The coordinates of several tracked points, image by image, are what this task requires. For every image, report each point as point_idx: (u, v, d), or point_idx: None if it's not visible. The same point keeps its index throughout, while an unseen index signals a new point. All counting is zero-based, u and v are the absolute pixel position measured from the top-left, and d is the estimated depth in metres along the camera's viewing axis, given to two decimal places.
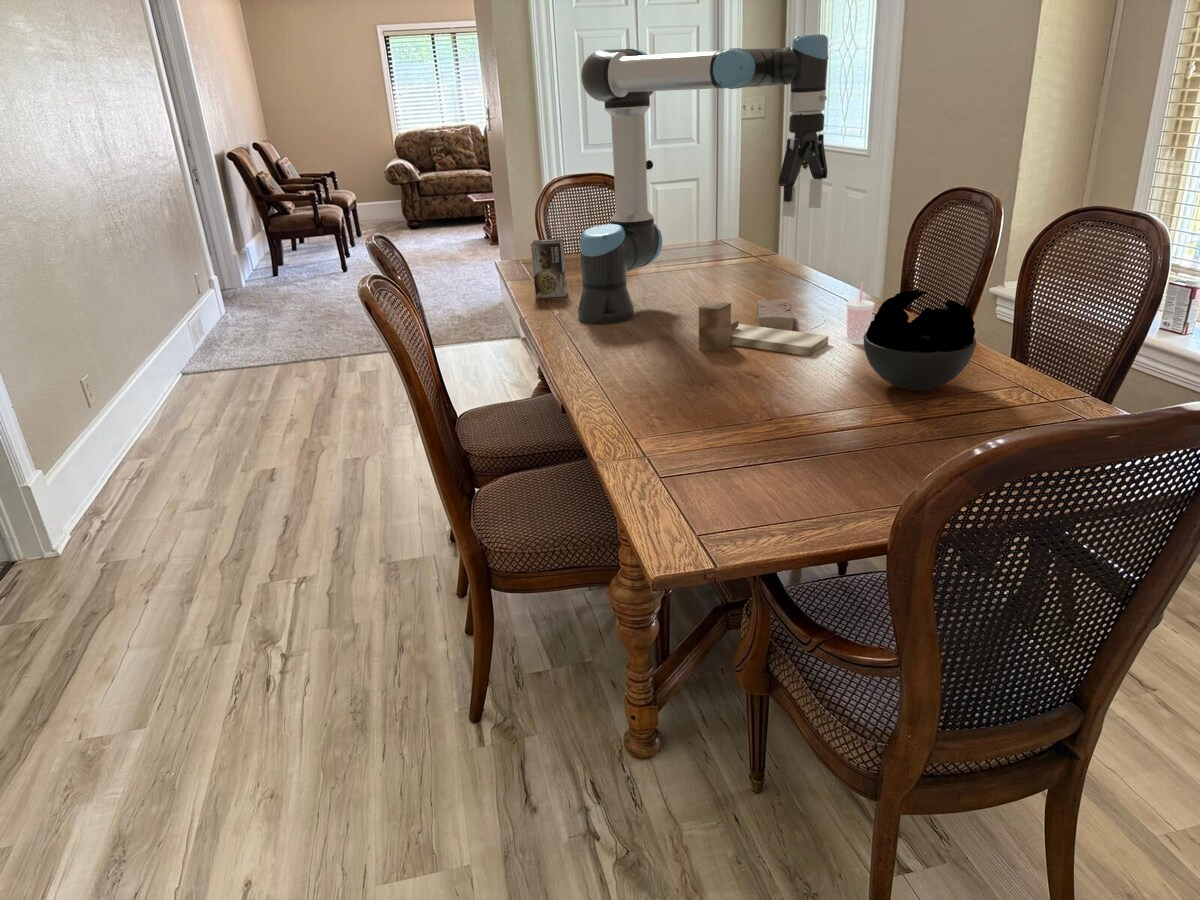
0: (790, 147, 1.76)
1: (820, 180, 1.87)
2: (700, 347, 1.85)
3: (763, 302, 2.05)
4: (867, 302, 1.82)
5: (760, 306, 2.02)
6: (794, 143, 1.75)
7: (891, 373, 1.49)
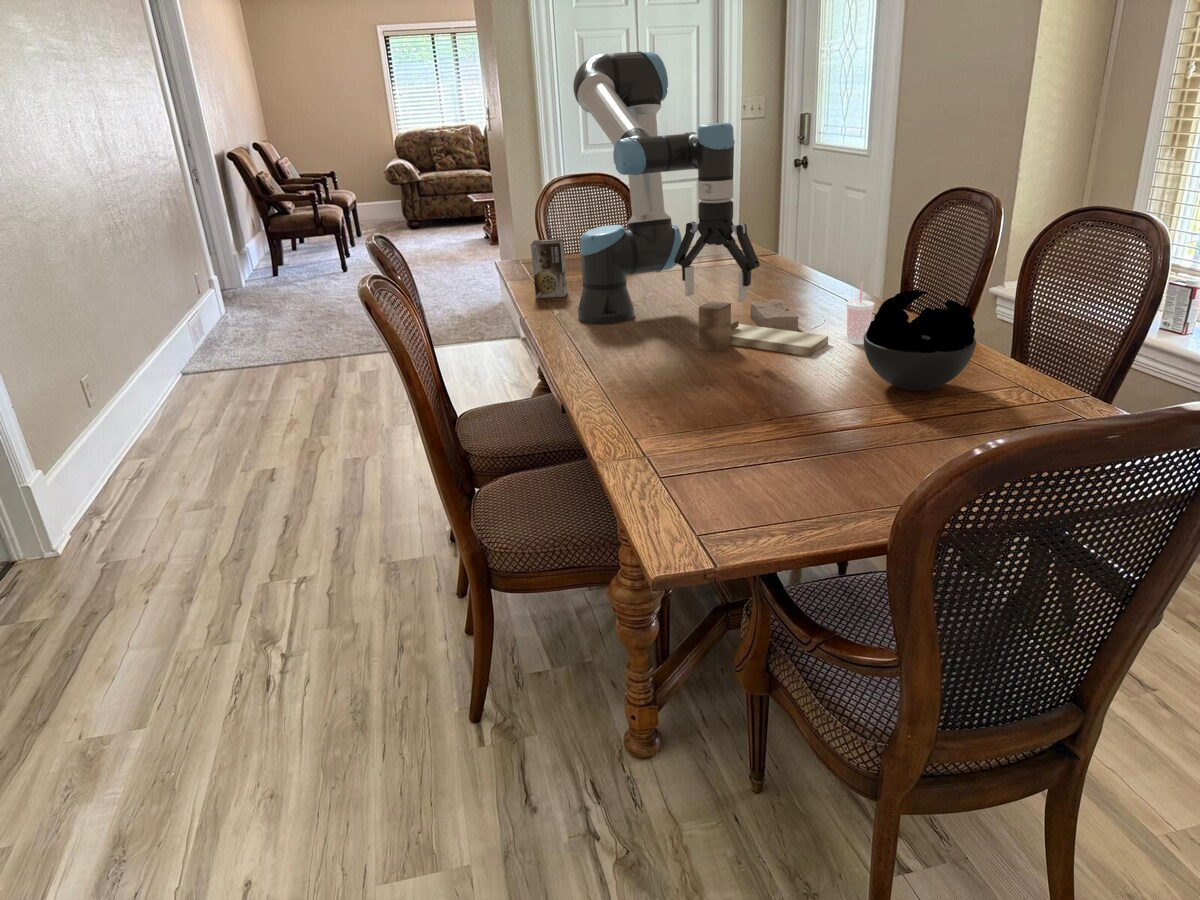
0: None
1: (739, 273, 1.74)
2: (700, 347, 1.85)
3: (758, 303, 2.05)
4: (867, 302, 1.82)
5: (757, 307, 2.02)
6: None
7: (891, 373, 1.49)
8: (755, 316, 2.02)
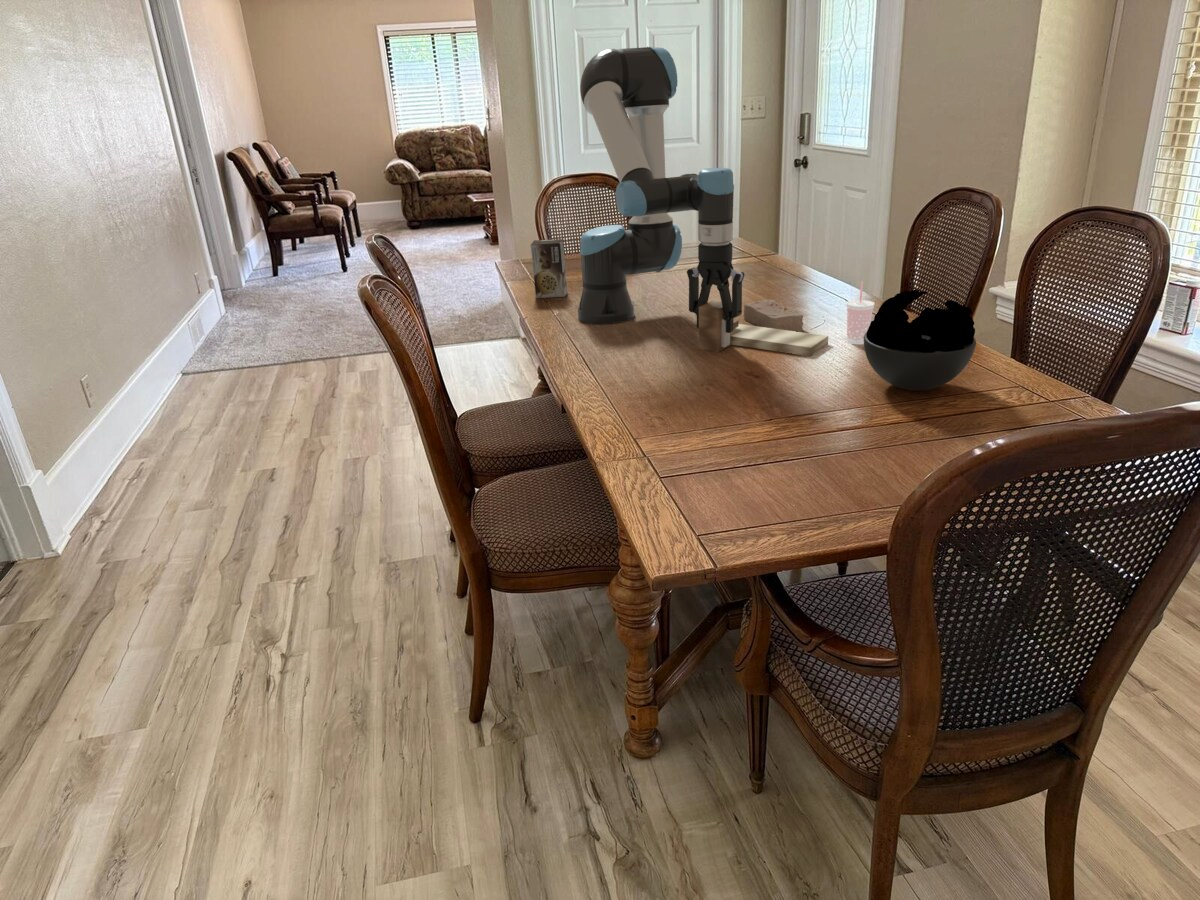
0: None
1: (722, 320, 1.81)
2: (700, 347, 1.85)
3: (752, 304, 2.04)
4: (867, 302, 1.82)
5: (756, 308, 2.01)
6: None
7: (891, 373, 1.49)
8: (754, 317, 2.01)
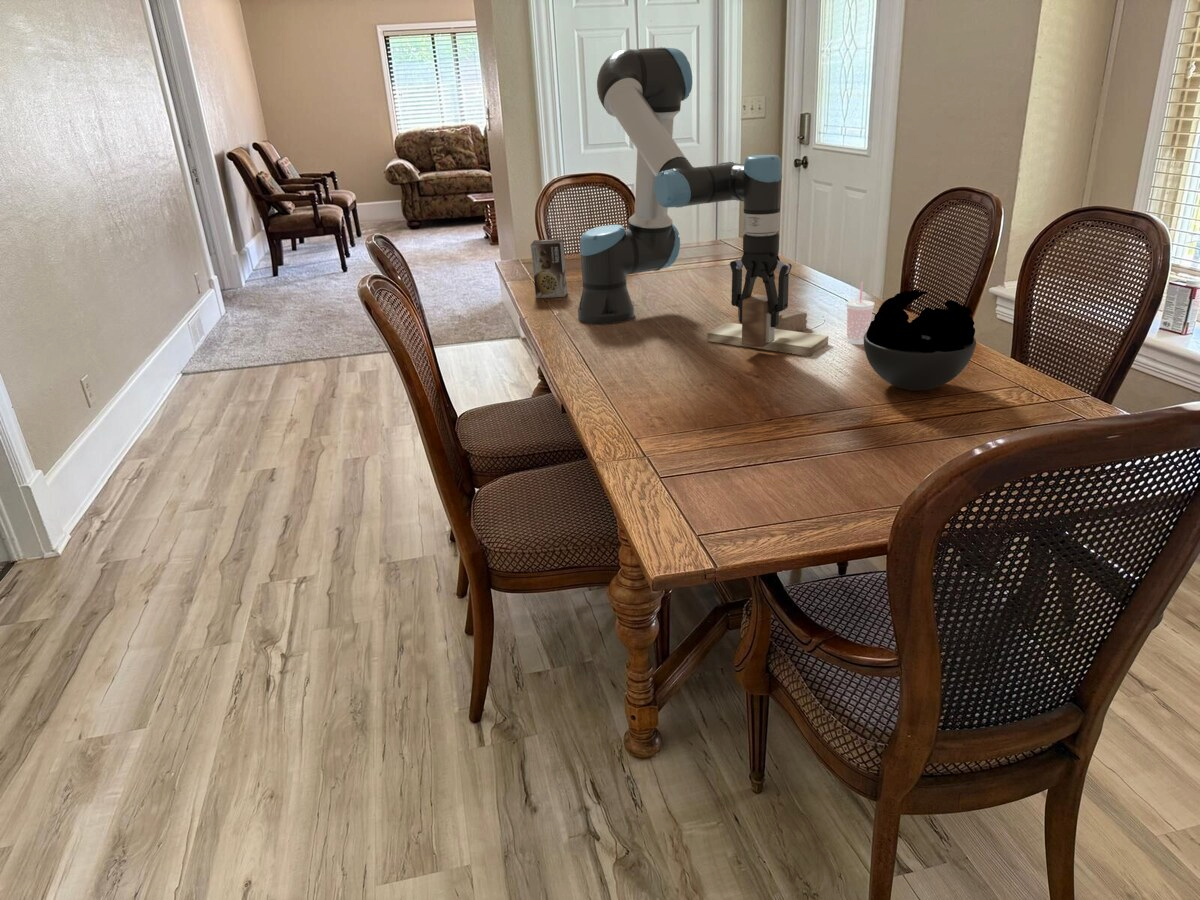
0: None
1: (767, 314, 1.74)
2: (743, 342, 1.78)
3: None
4: (867, 302, 1.82)
5: None
6: None
7: (891, 373, 1.49)
8: None
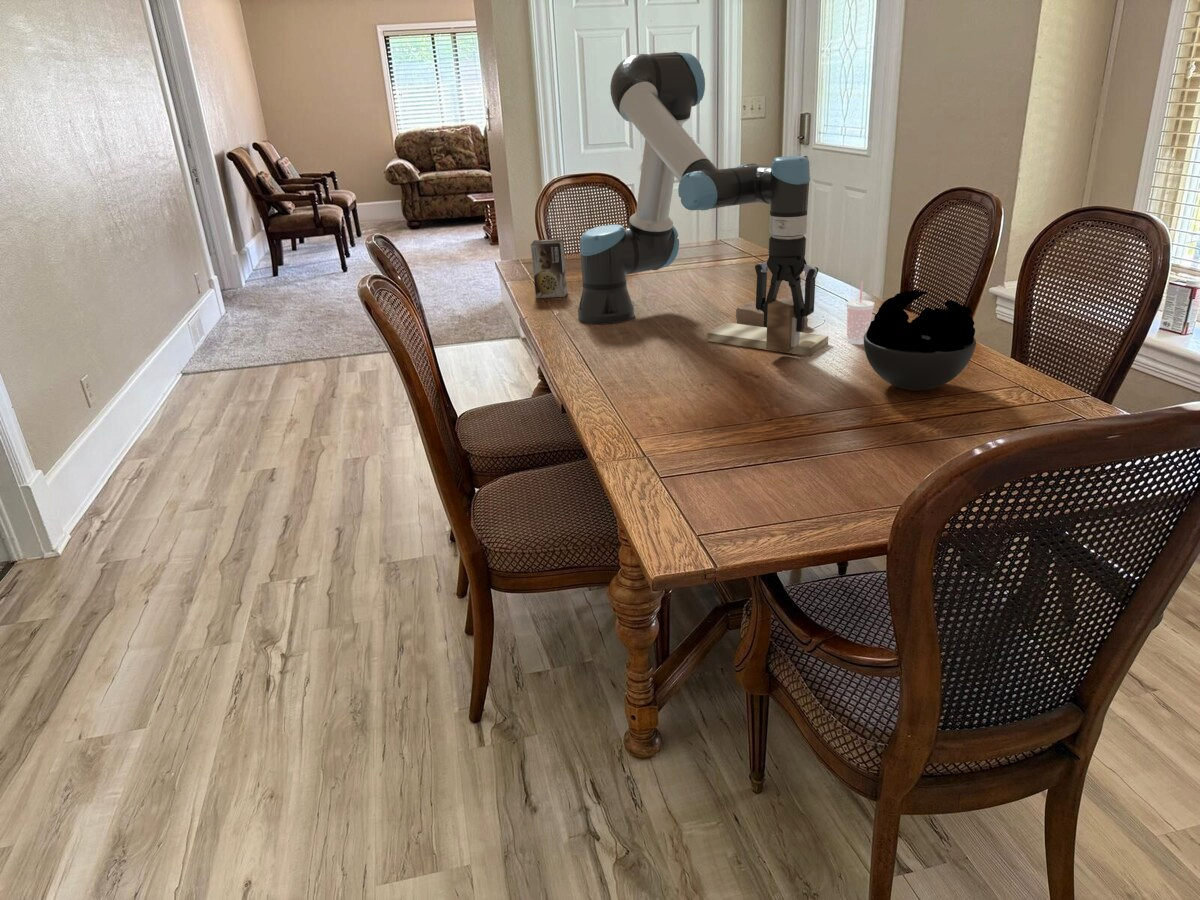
0: None
1: (792, 318, 1.71)
2: (768, 347, 1.75)
3: (746, 307, 2.01)
4: (867, 302, 1.82)
5: (755, 311, 1.99)
6: None
7: (891, 373, 1.49)
8: (755, 320, 1.99)
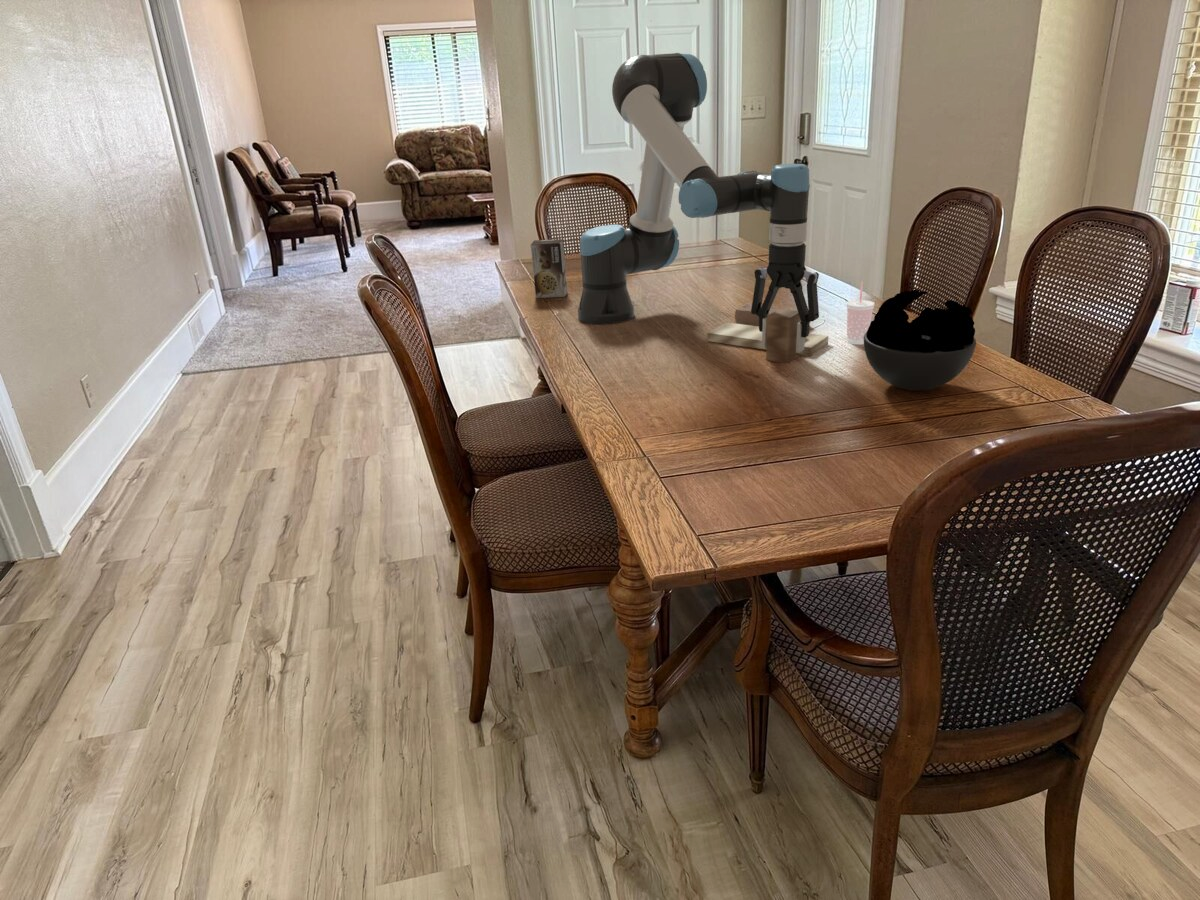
0: None
1: (797, 324, 1.71)
2: (768, 358, 1.76)
3: (745, 309, 2.00)
4: (867, 302, 1.82)
5: None
6: None
7: (891, 373, 1.49)
8: (757, 321, 1.98)
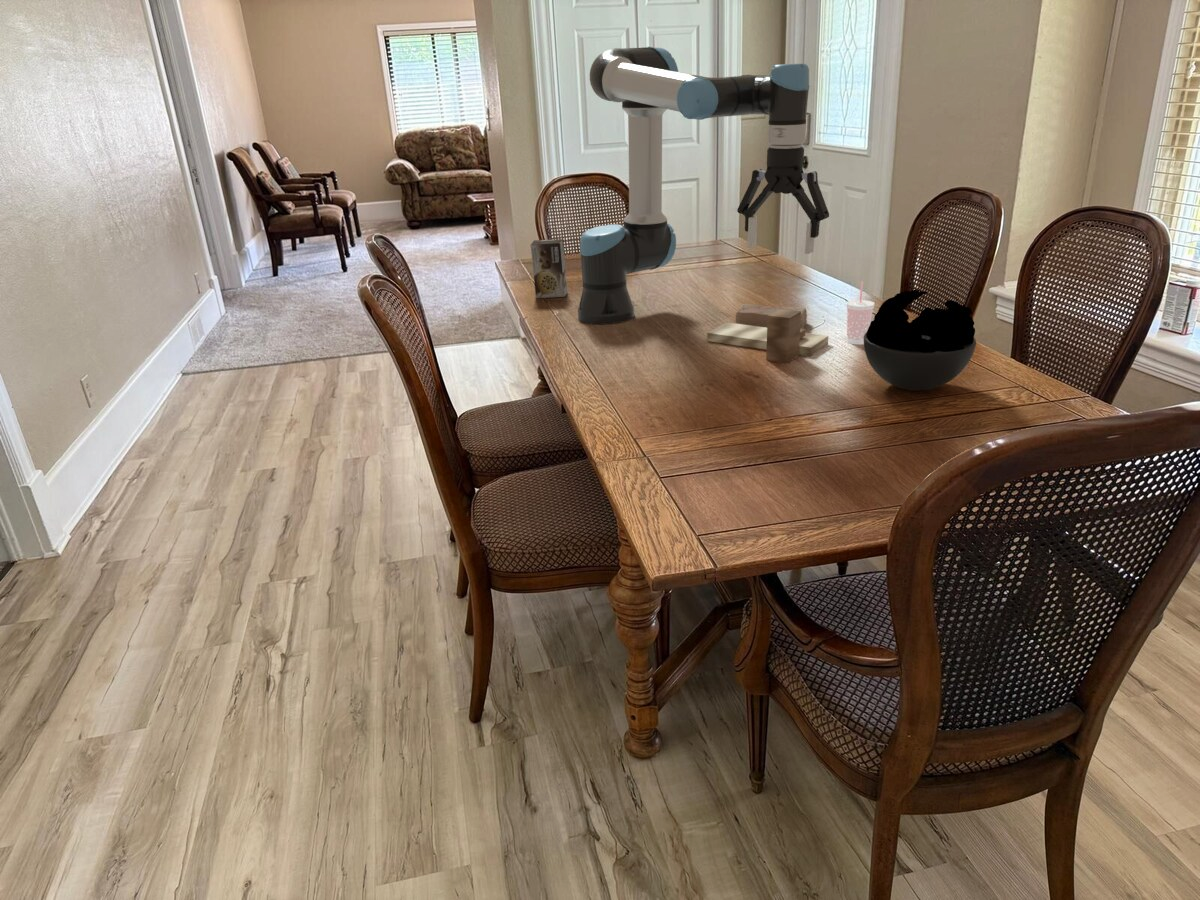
0: None
1: (807, 223, 1.67)
2: (768, 358, 1.76)
3: (746, 311, 1.98)
4: (867, 302, 1.82)
5: (759, 313, 1.97)
6: None
7: (891, 373, 1.49)
8: (760, 322, 1.97)
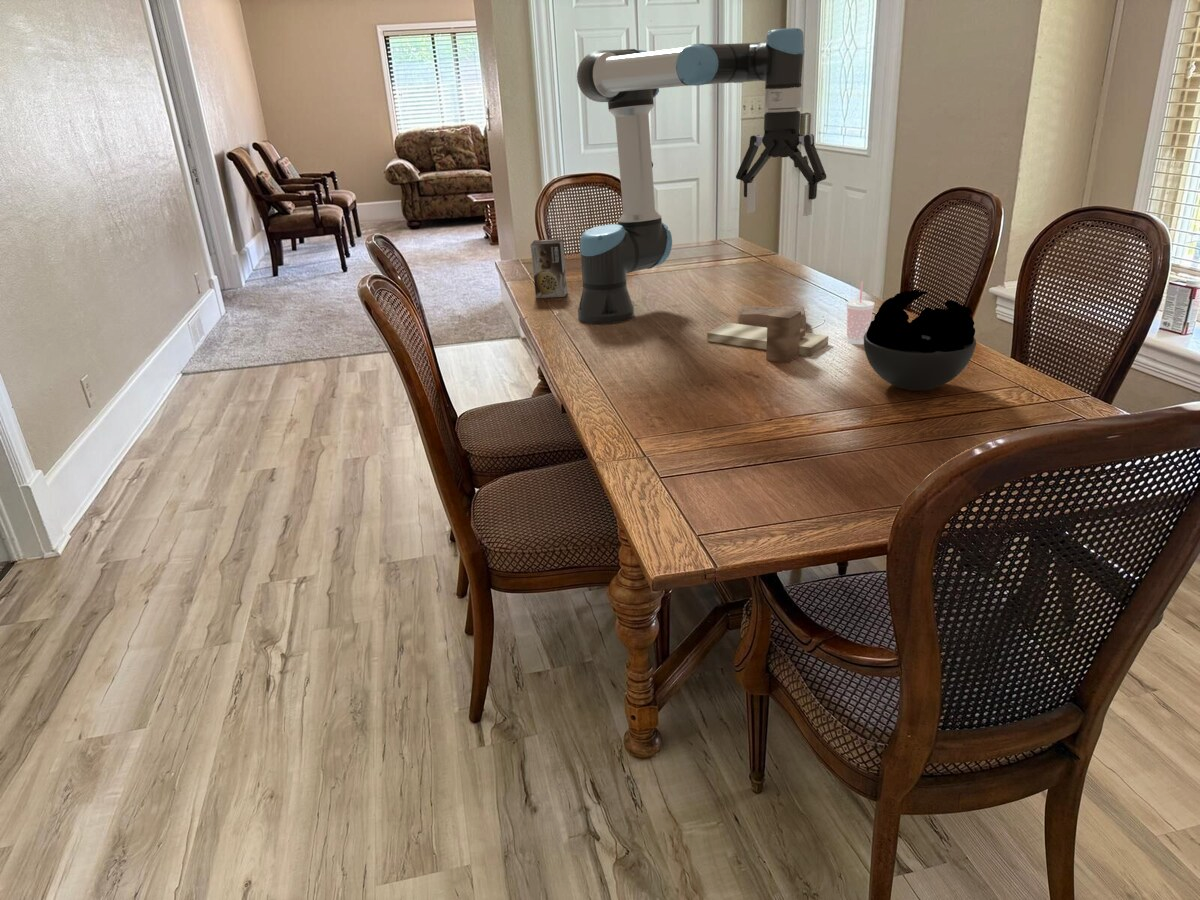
0: None
1: (805, 185, 1.71)
2: (768, 358, 1.76)
3: (748, 312, 1.97)
4: (867, 302, 1.82)
5: (762, 314, 1.96)
6: None
7: (891, 373, 1.49)
8: (764, 323, 1.96)
